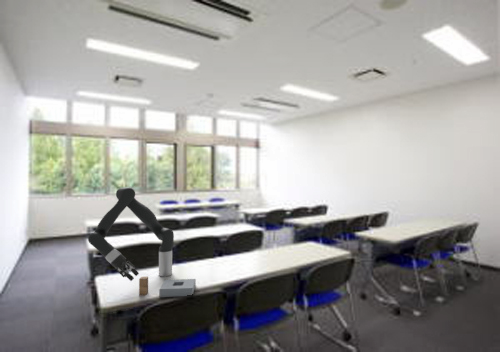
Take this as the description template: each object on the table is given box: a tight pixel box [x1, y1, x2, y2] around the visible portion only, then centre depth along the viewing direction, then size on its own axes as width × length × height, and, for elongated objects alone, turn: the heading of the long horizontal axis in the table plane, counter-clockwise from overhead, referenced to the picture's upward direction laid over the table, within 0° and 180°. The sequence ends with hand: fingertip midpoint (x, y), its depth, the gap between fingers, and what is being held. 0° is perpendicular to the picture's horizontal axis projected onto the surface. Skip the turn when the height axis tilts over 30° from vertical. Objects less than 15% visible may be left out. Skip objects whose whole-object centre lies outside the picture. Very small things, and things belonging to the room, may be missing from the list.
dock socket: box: [158, 278, 197, 298], centre depth 164 cm, size 15×19×4 cm
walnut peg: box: [138, 276, 149, 296], centre depth 160 cm, size 4×4×10 cm
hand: (135, 277), depth 160 cm, fingers open, 8 cm apart
